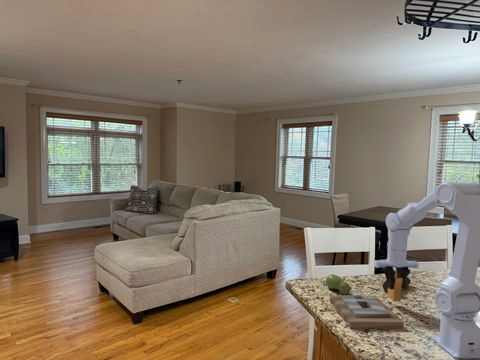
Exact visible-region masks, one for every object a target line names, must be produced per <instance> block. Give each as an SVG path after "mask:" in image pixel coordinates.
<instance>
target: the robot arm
mask: <svg viewBox="0 0 480 360" xmlns="http://www.w3.org/2000/svg"><path fill="white" fill-rule="evenodd" d="M440 206H443V207H445V208H446V209H447V210H448V211H450V213H452V214H453V215H455V216H456V217H457V218H458V220H459V223H458V229H457V233H456V240H455V245H454V251H453V256H452V261H451V266H450V271H449V276H448V277H447V278H446V279H444V280H443V281H442V282H441V283H440V285H439V289H438V290H437V291H436V293H435V297H434V301H435V304H436V308H438V312H440V323H439V333H438V334H439V335H431V339H432V340H433V341H434V342H435V343H437V344H438V345H439V346H440V347H441V348H442V349H444V350H445V351H446V352H447V353H448V354H449V355H450V356H452V357H453V358H455V359H480V326H479V325H478V324H476V321H475V318H476V317H477V313H480V286H479V285H478V284H477V283H476V277H477V272H478V268H479V262H480V184H479V183H478V182H475V181H469V182H454V181H453V182H451V181H444V182H441V183H440V184H438V185H436V186H435V187H434V189H433V191H432V192H431V193H429V194H428V195H426V196H425V197H424V198H423V199H422V200H421V201H419V202H407V205H406V206H405V207H403V208H402V209H399V210H398V211H397V212H395V213H394V212H389V213H388V214H387V216H386V218H385V225H386V228H387V229H388V230H389V231H388V242H387V243H388V244H387V258H386V259H378V260H374V261H373V267H375V268H376V269H379V268H382V270H383V273H384V275H385V281H386V280H387V285H388V288H390V289H393V284H394V277H395V274H397V275H398V276H400V277H401V278H403V280H402V286H403V283H404V281H405V279H406V278H407V277H408V276H409V275H410V274H411V269H419V262H417V261H416V260H407V253H408V252H407V251H408V250H407V249H408V237H409V235H411V234H410V233H411V230H412V229H413V227H414V225H415V224H417V223H418V222H420V221H422V220H424V219H425V218H426V216H427V213H429V212H430V211H432V210H434V209H436V208H438V207H440ZM394 268H395V270H394ZM402 286H401V290H403V289H402Z"/></svg>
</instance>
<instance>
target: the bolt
mask: <svg viewBox="0 0 480 360" xmlns="http://www.w3.org/2000/svg"><path fill="white" fill-rule="evenodd" d="M411 282H412V281H411V279H410V277H408V276H407V278H406V279H405V281H404V283H403V286H402V289H401V290H404V289H407V288H408V287H409V285H410V284H411ZM381 285H382V286H381V287H382V289H383V291H384V293H386V294H388V285H387V280H386V279H385V281H383V283H382V284H381Z"/></svg>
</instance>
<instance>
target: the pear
mask: <svg viewBox="0 0 480 360" xmlns="http://www.w3.org/2000/svg"><path fill="white" fill-rule="evenodd" d="M325 284H326V286H327V287H328V288H329V289H330V290H338V292H339V293H340V294H341V295H348V294H349V295H350V290H353V289H352V286H351V285H350V284H349V283H348V282H347V281H344V278H342V277H340V276H338V275H336V274H328V276H327V277H326V278H325Z"/></svg>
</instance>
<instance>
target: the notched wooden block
mask: <svg viewBox="0 0 480 360" xmlns="http://www.w3.org/2000/svg"><path fill="white" fill-rule="evenodd" d="M402 280H403V278H401V277H400V276H398V275H397V274H395V277H394V284H393V289H390V288H388V293H387V297H388V299H390V300H391V301H393V302H401V298H402V289H401V286H402Z"/></svg>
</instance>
